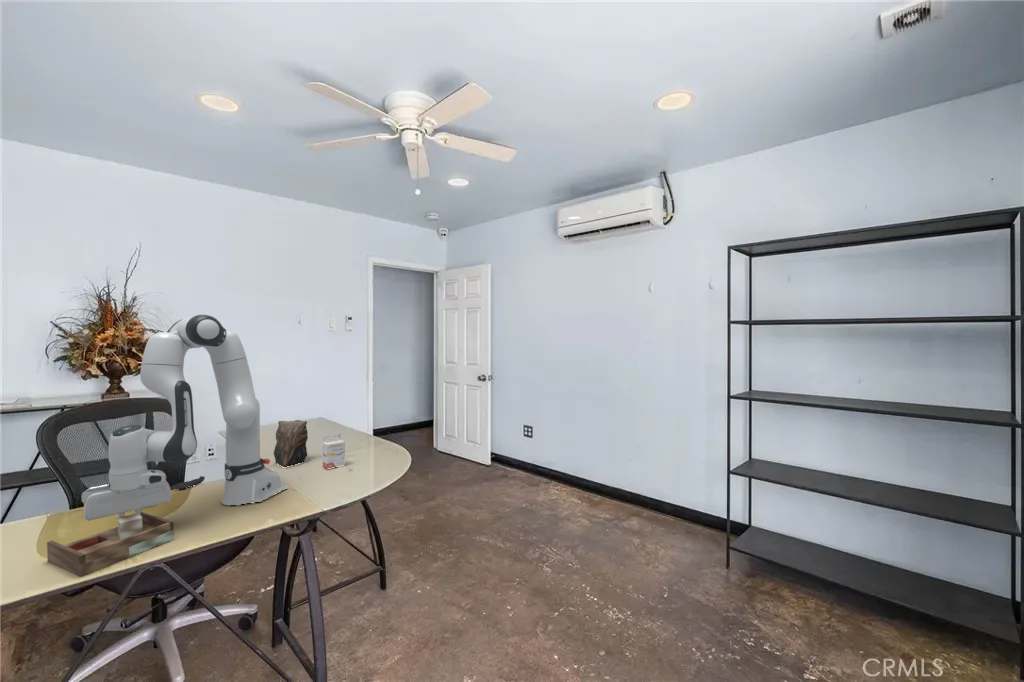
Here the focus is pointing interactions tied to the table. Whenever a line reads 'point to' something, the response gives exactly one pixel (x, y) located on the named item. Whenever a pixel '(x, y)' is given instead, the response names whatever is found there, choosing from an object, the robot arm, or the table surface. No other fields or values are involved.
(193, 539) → the table surface
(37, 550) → the table surface
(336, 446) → the ink cartridge box
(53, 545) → the box
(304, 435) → the owl
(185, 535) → the table surface
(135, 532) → the gray block
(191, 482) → the fan shaped piece
